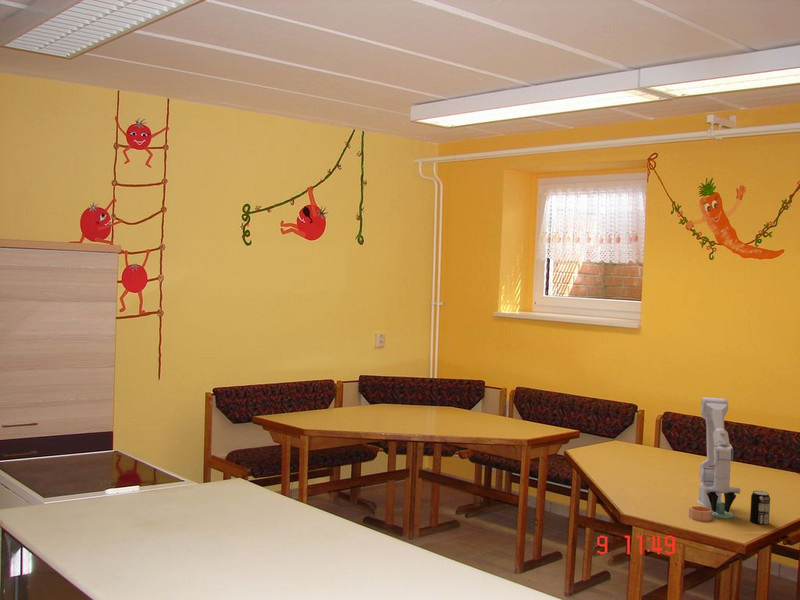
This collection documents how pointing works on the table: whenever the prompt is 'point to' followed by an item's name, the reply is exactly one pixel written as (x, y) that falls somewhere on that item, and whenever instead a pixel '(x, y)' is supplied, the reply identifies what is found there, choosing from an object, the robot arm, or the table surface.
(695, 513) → the bowl
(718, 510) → the lid
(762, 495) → the beverage can
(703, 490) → the robot arm
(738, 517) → the mat
